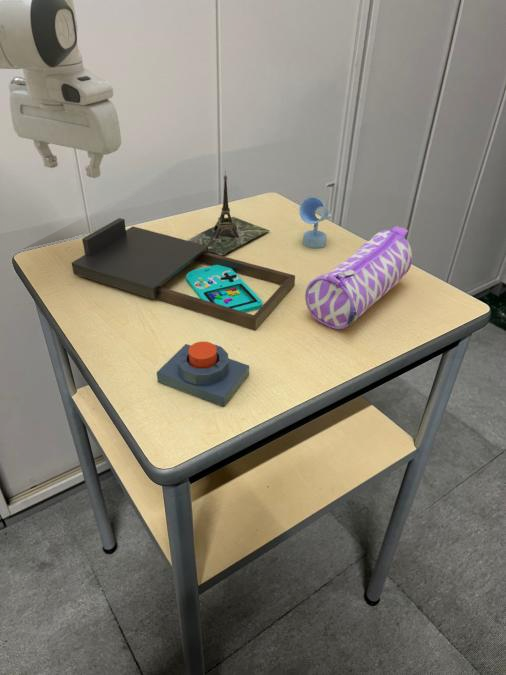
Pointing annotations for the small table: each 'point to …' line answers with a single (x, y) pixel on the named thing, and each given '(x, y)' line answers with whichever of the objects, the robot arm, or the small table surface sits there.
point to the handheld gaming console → (223, 288)
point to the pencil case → (360, 279)
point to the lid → (134, 258)
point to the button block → (204, 376)
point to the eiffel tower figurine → (227, 231)
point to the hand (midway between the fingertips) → (72, 171)
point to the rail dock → (225, 312)
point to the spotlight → (313, 222)
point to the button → (202, 355)
